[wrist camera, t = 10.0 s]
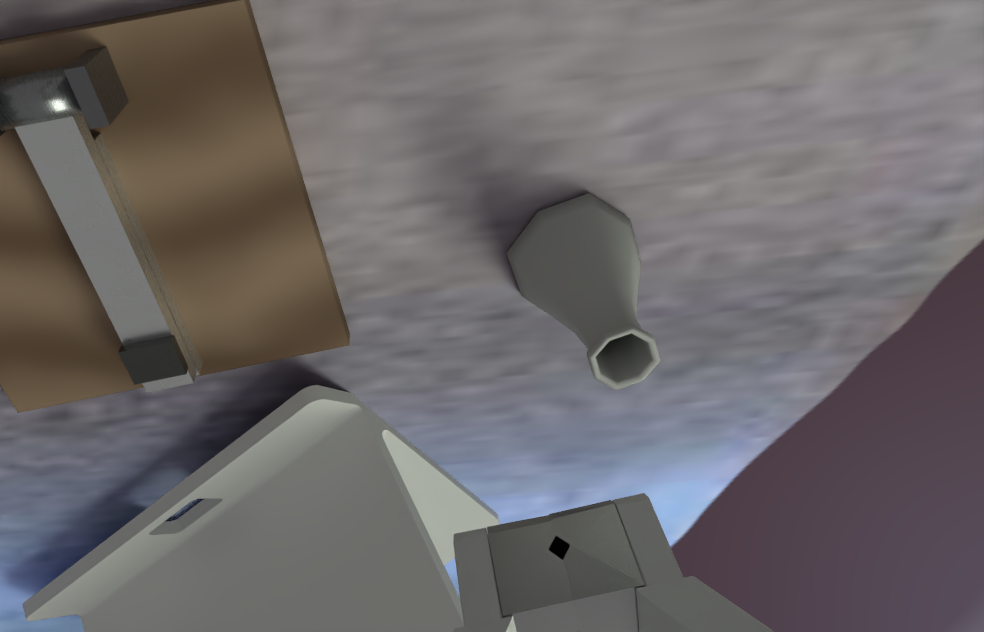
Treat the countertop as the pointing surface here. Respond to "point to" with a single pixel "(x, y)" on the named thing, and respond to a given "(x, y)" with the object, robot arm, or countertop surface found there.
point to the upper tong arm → (96, 224)
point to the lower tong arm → (100, 107)
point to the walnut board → (168, 209)
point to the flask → (588, 284)
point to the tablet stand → (285, 536)
